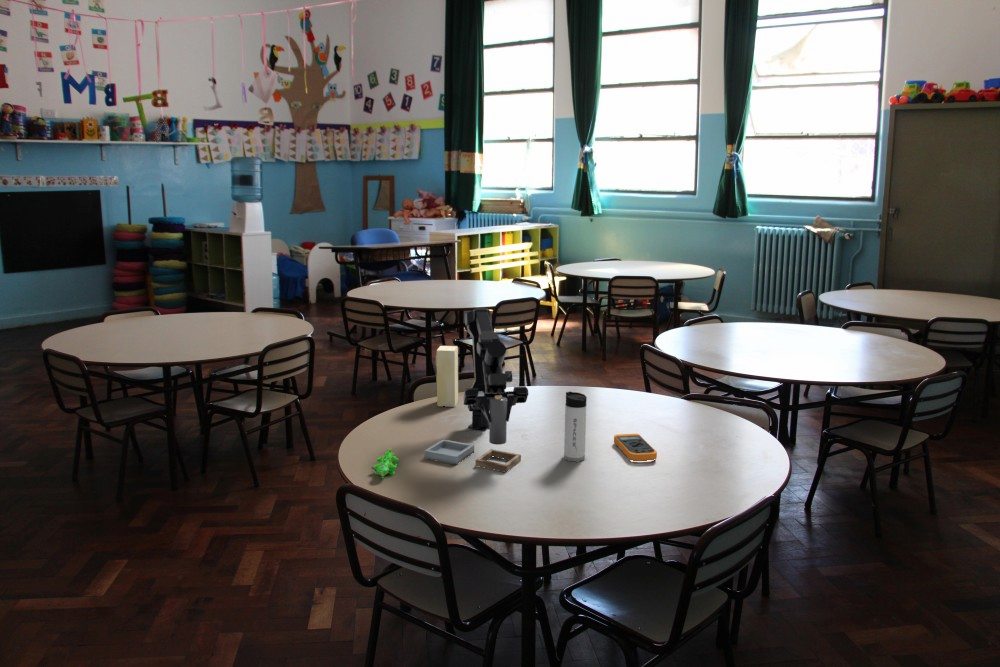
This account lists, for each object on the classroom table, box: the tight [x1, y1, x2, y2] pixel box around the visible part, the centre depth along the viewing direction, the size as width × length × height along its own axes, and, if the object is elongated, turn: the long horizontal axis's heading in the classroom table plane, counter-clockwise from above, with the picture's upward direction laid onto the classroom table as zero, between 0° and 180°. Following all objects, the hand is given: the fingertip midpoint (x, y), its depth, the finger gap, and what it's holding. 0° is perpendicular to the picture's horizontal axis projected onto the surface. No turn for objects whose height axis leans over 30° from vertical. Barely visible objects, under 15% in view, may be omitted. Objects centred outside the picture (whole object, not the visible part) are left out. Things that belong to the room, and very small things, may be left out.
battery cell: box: [488, 395, 508, 446], centre depth 229 cm, size 5×5×14 cm
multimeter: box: [613, 433, 658, 461], centre depth 242 cm, size 9×18×3 cm, turn 10°
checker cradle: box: [474, 449, 522, 473], centre depth 232 cm, size 10×10×2 cm
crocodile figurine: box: [373, 447, 400, 479], centre depth 227 cm, size 7×18×4 cm, turn 0°
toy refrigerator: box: [435, 345, 459, 408], centre depth 287 cm, size 8×7×21 cm
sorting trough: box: [423, 439, 475, 465], centre depth 238 cm, size 11×11×2 cm
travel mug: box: [563, 391, 588, 462], centre depth 235 cm, size 6×7×20 cm
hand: (498, 421), depth 228 cm, fingers closed on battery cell, 5 cm apart
